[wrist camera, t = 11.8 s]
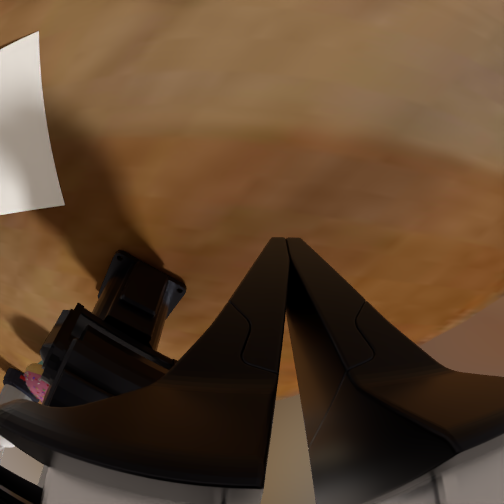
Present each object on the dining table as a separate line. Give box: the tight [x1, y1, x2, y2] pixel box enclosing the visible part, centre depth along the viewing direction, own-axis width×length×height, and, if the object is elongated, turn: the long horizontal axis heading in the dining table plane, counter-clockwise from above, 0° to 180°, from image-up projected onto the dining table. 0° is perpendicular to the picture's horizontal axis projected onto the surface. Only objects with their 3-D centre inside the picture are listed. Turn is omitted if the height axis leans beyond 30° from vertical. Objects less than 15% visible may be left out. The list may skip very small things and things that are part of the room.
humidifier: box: [0, 368, 39, 461], centre depth 30 cm, size 8×8×25 cm
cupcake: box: [23, 361, 49, 402], centre depth 29 cm, size 9×8×12 cm
